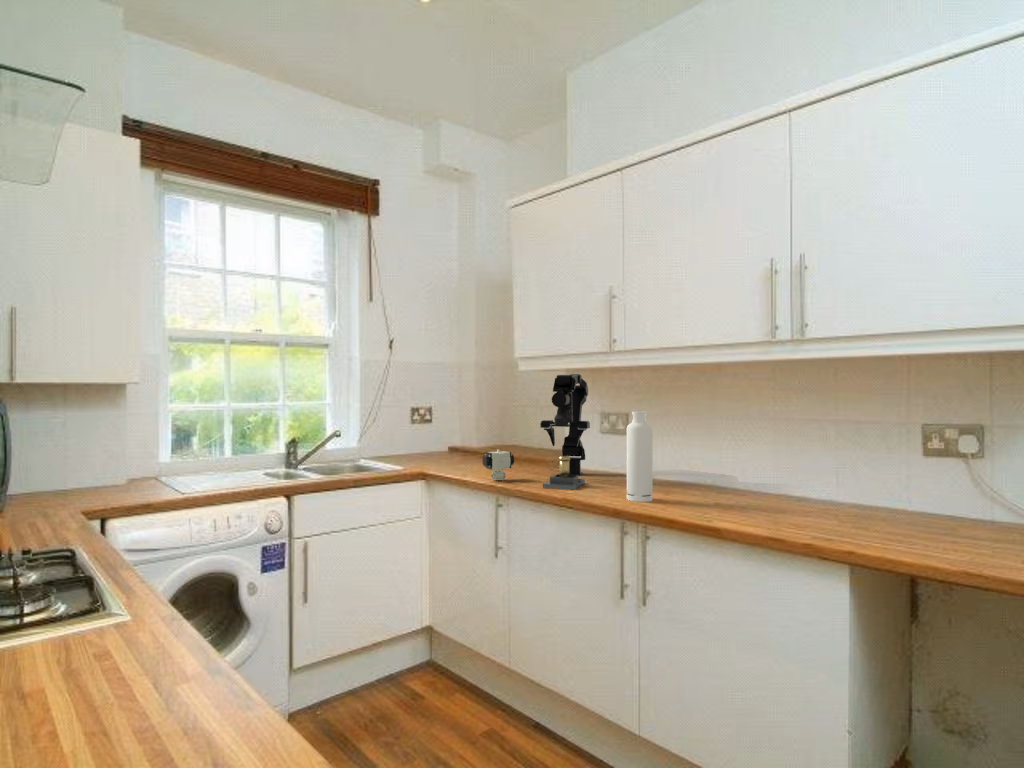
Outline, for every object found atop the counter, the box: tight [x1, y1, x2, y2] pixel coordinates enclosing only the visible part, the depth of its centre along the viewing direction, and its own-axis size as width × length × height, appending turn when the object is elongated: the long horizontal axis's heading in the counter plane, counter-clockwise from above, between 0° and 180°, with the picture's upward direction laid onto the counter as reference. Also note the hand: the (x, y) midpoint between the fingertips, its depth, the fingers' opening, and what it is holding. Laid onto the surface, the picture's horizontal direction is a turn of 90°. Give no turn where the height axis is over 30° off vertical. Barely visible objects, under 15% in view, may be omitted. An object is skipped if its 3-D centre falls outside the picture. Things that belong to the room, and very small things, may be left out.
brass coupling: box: [558, 455, 571, 478], centre depth 210 cm, size 4×4×9 cm
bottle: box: [626, 411, 653, 503], centre depth 183 cm, size 8×8×28 cm
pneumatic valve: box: [482, 449, 515, 481], centre depth 222 cm, size 6×12×12 cm, turn 116°
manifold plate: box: [542, 473, 586, 490], centre depth 210 cm, size 16×12×4 cm
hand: (565, 446), depth 224 cm, fingers open, 9 cm apart
